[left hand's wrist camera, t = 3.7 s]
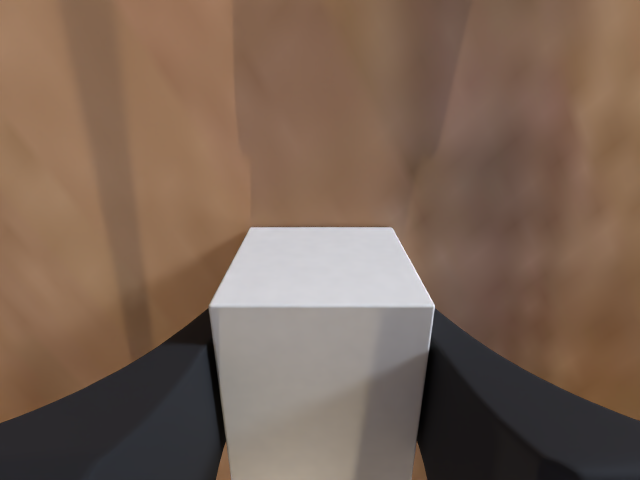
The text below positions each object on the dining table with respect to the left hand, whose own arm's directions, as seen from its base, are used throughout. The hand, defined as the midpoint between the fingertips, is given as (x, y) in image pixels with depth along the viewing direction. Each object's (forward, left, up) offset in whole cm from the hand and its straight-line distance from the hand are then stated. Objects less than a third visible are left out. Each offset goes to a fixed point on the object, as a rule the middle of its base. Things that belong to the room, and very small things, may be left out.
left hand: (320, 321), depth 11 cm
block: (0, 0, -1) cm, 1 cm away
